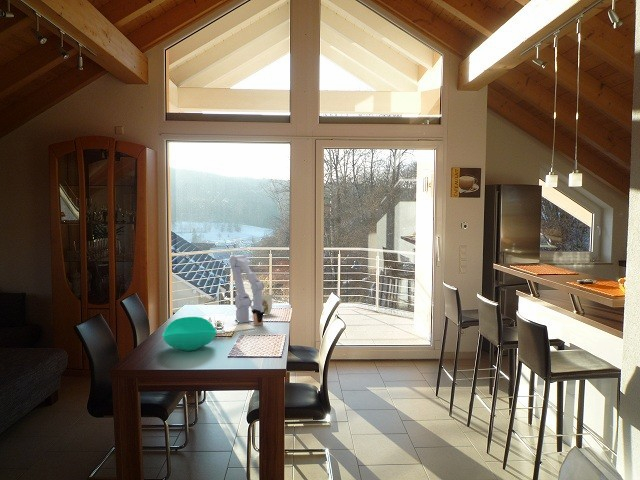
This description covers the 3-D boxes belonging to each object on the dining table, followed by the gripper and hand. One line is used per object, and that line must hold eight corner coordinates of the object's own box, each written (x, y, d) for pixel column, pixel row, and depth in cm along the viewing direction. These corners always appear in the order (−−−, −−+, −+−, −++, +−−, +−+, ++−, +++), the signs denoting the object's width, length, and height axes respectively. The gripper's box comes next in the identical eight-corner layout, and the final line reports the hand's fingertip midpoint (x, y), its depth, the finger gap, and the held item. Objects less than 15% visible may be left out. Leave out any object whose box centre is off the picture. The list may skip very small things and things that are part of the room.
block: (253, 324, 318) (253, 313, 317) (259, 323, 320) (259, 312, 319) (256, 325, 314) (256, 314, 313) (262, 324, 316) (262, 313, 316)
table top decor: (219, 357, 248) (218, 330, 247) (161, 362, 240) (160, 335, 239) (214, 337, 286) (213, 315, 285) (164, 341, 278) (163, 318, 277)
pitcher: (251, 313, 354) (250, 294, 353) (276, 312, 355) (275, 293, 354) (249, 316, 343) (248, 296, 342) (275, 315, 344) (274, 296, 343)
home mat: (219, 328, 309) (219, 327, 309) (246, 324, 318) (246, 323, 318) (227, 332, 297) (227, 331, 297) (255, 328, 306) (255, 327, 306)
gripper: (268, 301, 312) (268, 322, 312) (258, 298, 324) (259, 318, 325) (257, 302, 308) (258, 324, 309) (248, 299, 320) (249, 319, 321)
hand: (258, 321), depth 317 cm, fingers closed on block, 4 cm apart
